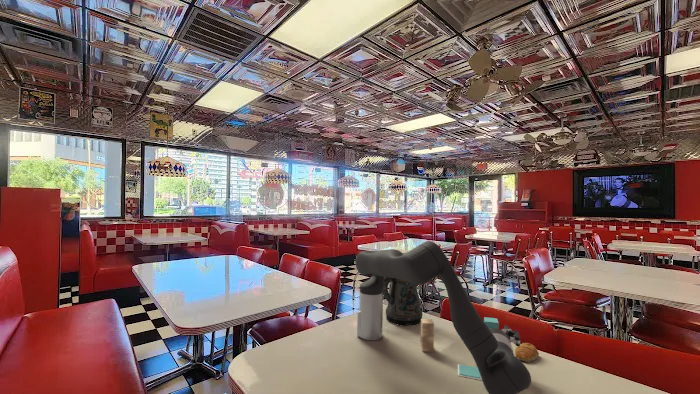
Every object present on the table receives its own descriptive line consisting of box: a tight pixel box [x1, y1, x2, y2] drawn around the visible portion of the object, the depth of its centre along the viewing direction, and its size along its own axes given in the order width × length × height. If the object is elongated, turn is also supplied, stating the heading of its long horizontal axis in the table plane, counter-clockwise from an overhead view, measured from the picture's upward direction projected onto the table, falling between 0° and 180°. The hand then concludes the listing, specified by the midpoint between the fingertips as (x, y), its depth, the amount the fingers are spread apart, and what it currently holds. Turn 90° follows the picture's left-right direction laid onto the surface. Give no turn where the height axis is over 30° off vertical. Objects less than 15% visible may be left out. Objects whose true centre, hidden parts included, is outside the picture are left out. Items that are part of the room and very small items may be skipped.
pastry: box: [514, 342, 540, 363], centre depth 107 cm, size 9×7×4 cm
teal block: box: [483, 316, 500, 329], centre depth 101 cm, size 4×4×10 cm
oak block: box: [419, 318, 435, 353], centre depth 112 cm, size 4×4×10 cm
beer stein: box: [383, 277, 423, 327], centre depth 139 cm, size 16×19×25 cm
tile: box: [457, 363, 482, 381], centre depth 96 cm, size 7×7×1 cm
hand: (491, 325), depth 103 cm, fingers open, 8 cm apart
